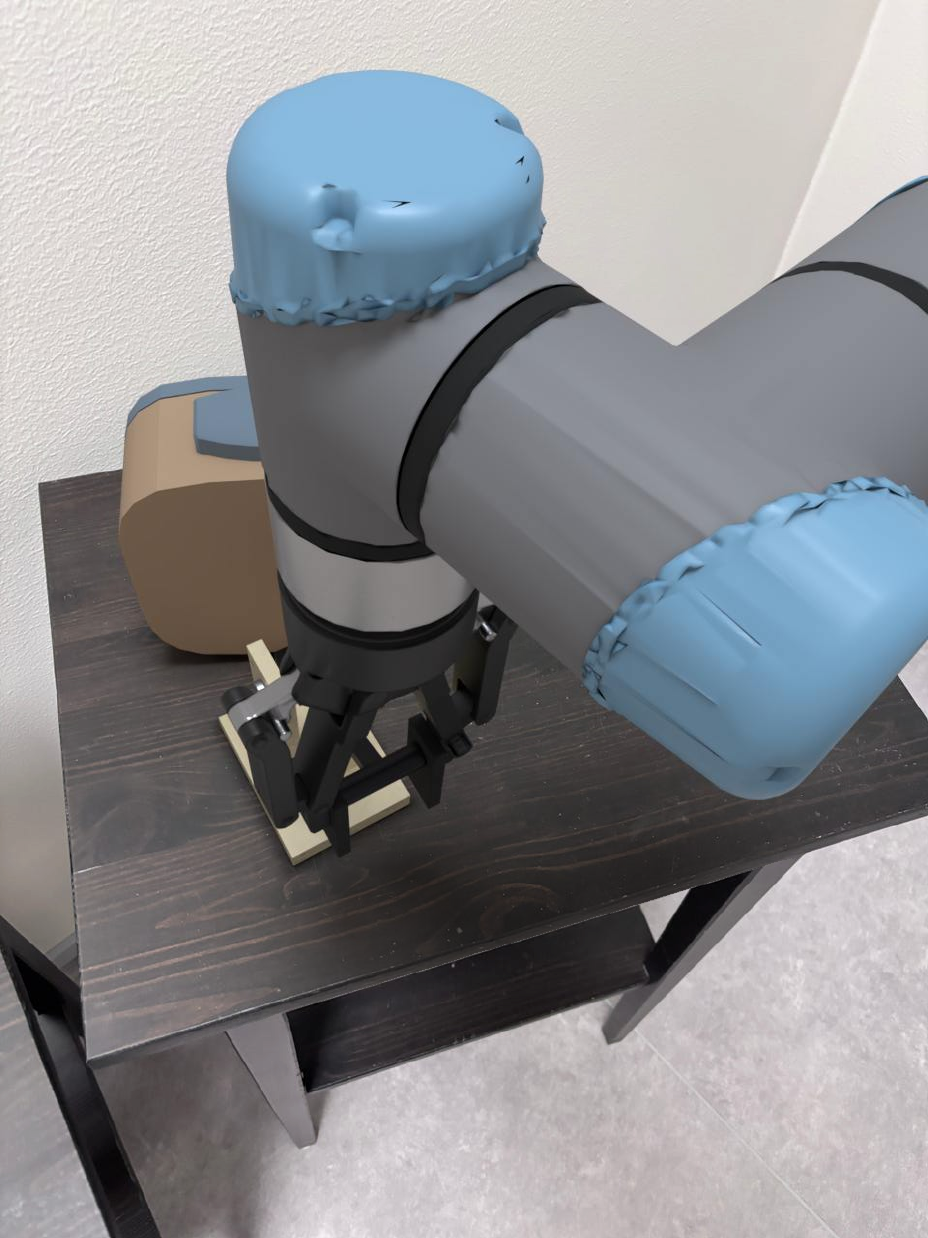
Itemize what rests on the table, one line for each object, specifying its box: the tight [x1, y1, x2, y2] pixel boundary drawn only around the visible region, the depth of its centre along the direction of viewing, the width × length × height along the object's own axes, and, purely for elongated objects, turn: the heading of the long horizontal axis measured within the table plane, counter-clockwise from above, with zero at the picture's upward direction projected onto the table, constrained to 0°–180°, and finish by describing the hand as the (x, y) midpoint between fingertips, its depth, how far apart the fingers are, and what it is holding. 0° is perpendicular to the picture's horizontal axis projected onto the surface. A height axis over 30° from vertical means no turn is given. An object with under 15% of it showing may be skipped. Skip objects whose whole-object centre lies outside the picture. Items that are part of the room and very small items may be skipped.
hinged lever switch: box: [218, 639, 411, 867], centre depth 60 cm, size 12×9×15 cm
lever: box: [273, 646, 427, 806], centre depth 52 cm, size 12×5×2 cm, turn 32°
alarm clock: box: [117, 375, 288, 655], centre depth 64 cm, size 21×10×22 cm, turn 99°
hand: (378, 810), depth 52 cm, fingers closed on lever, 5 cm apart
